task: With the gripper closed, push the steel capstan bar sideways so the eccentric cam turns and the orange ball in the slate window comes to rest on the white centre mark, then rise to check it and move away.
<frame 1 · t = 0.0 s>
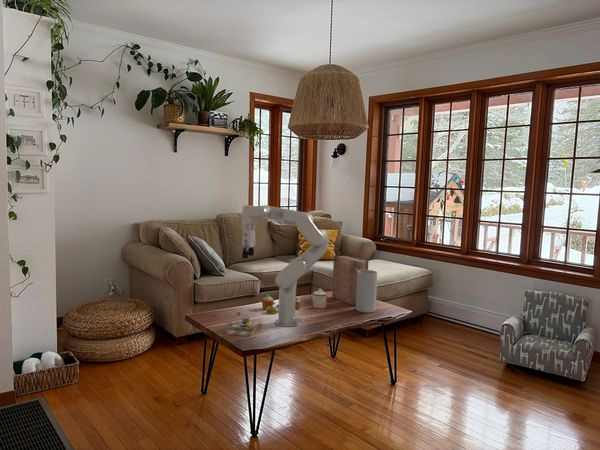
hand: (248, 256, 265), 37 cm above the table, tool pointing down, fingers open, 9 cm apart
cylinder vase: (365, 310, 296), on the table
teacup with lid: (317, 306, 302), on the table
toy tea set: (280, 310, 292), on the table
book: (349, 301, 317), on the table
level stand: (244, 329, 250), on the table
capstan: (243, 319, 254), point 4 cm above the table, hinge at 35.0°
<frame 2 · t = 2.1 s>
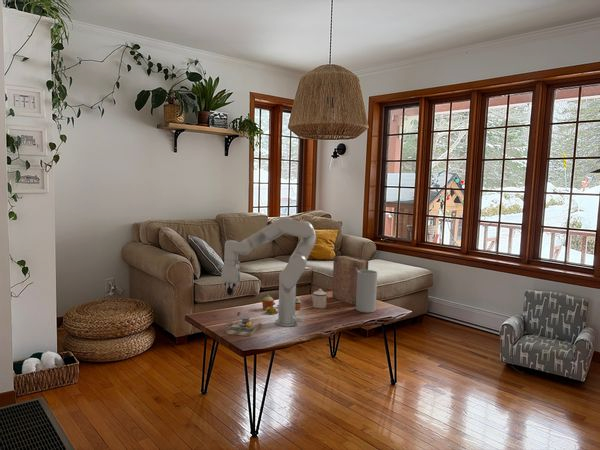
hand: (230, 294, 261), 16 cm above the table, tool pointing down, fingers closed
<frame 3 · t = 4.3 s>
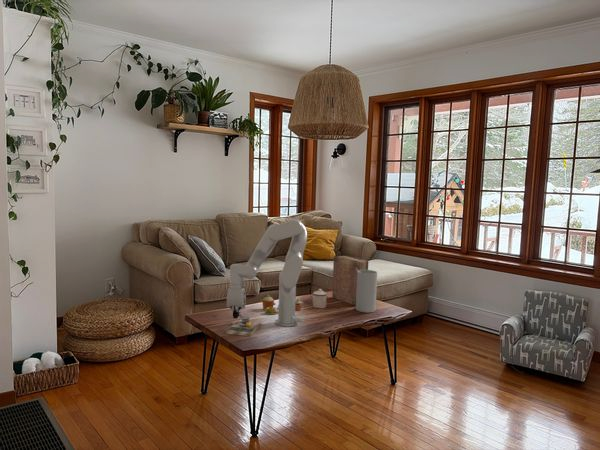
hand: (235, 317, 261), 3 cm above the table, tool pointing down, fingers closed
capstan: (244, 319, 254), point 4 cm above the table, hinge at 34.4°, touching gripper
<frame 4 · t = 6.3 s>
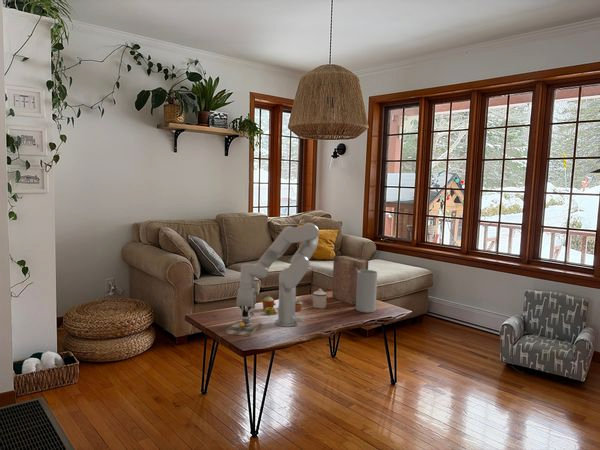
hand: (245, 317, 260), 3 cm above the table, tool pointing down, fingers closed
capstan: (246, 319, 255), point 4 cm above the table, hinge at 4.8°, touching gripper
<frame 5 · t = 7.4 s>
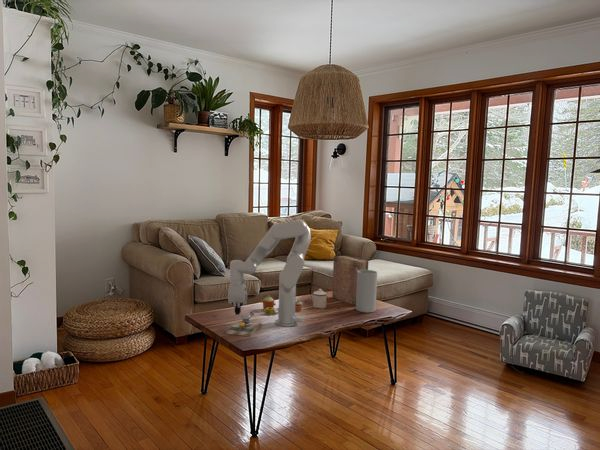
hand: (237, 313, 262), 5 cm above the table, tool pointing down, fingers closed
capstan: (246, 319, 255), point 4 cm above the table, hinge at 4.7°
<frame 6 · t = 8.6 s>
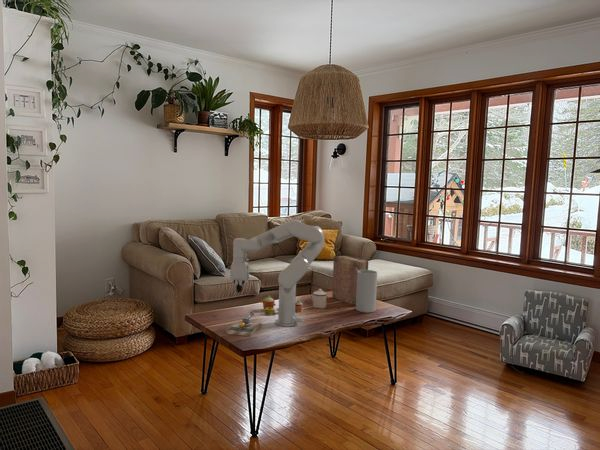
hand: (239, 291, 263), 17 cm above the table, tool pointing down, fingers closed
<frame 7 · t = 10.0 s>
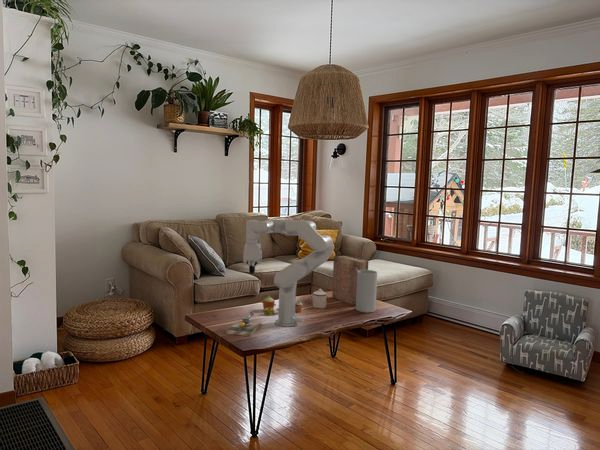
hand: (251, 272, 268), 27 cm above the table, tool pointing down, fingers closed
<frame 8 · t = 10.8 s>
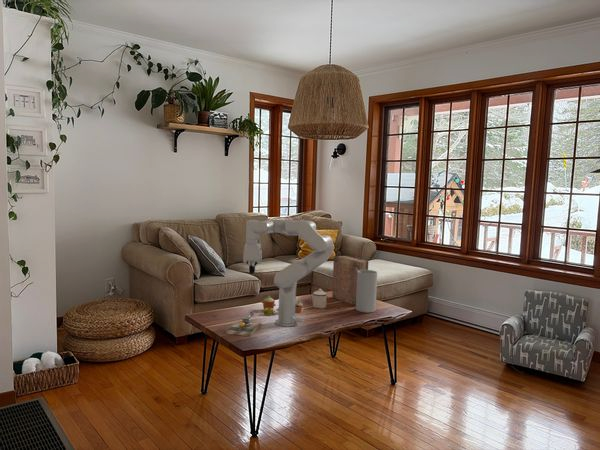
hand: (252, 272, 268), 27 cm above the table, tool pointing down, fingers closed
at the end: capstan at +5° (first picture: +35°) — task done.
